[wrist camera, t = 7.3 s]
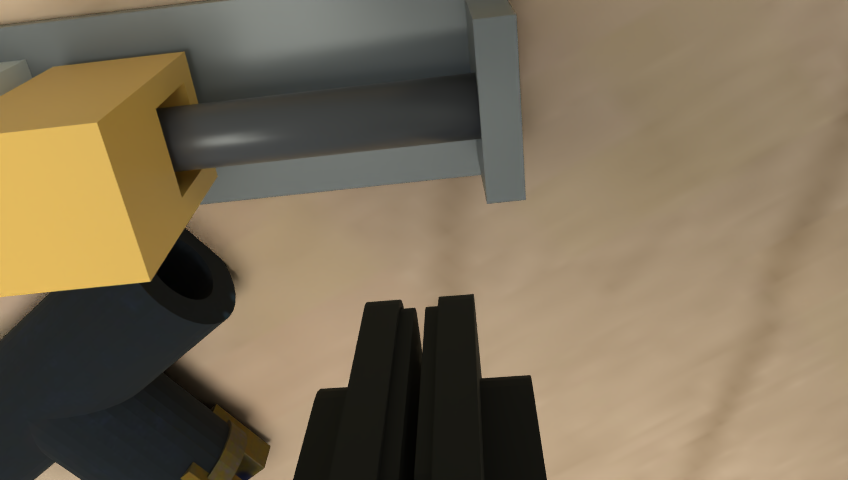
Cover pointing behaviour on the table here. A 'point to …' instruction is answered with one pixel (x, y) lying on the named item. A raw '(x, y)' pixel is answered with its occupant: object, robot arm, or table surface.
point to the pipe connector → (122, 381)
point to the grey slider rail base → (315, 89)
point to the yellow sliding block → (93, 175)
